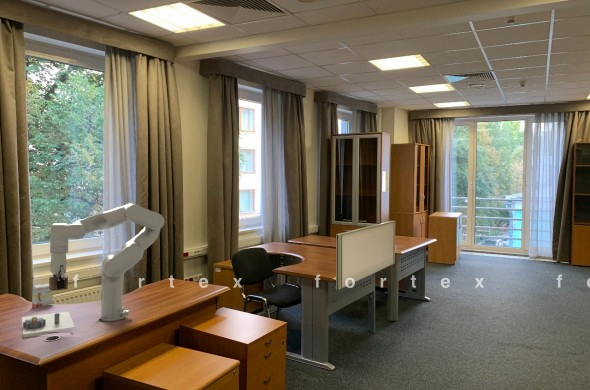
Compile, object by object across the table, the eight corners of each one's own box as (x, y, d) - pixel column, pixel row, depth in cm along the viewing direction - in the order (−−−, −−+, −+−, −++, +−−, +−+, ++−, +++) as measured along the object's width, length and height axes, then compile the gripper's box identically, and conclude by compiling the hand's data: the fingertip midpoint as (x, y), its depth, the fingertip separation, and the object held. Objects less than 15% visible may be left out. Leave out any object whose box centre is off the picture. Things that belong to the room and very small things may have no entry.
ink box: (35, 310, 224) (35, 287, 223) (31, 308, 227) (32, 285, 226) (53, 306, 230) (53, 284, 230) (49, 304, 233) (49, 283, 233)
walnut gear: (72, 286, 208) (72, 275, 208) (61, 291, 200) (61, 279, 200) (55, 285, 209) (55, 274, 209) (44, 290, 200) (44, 278, 200)
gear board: (21, 320, 208) (22, 307, 207) (68, 314, 219) (68, 302, 218) (23, 337, 186) (23, 323, 186) (74, 330, 197) (75, 317, 197)
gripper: (46, 247, 208) (45, 284, 208) (54, 252, 195) (54, 292, 195) (63, 246, 213) (62, 282, 213) (72, 251, 200) (72, 289, 200)
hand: (58, 286), depth 204 cm, fingers closed on walnut gear, 7 cm apart
